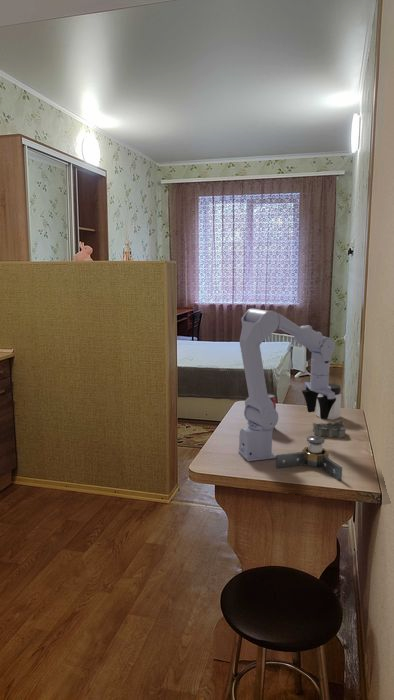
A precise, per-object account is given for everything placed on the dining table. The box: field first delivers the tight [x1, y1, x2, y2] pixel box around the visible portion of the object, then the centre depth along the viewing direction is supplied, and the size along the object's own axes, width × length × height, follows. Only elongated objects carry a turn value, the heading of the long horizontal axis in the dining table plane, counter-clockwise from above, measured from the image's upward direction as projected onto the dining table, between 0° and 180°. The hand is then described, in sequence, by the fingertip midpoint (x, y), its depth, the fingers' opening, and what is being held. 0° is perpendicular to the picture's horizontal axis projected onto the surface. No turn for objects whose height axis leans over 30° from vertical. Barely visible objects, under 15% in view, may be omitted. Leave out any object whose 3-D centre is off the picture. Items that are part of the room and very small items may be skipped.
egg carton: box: [312, 420, 347, 438], centre depth 171 cm, size 11×8×4 cm
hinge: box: [275, 446, 343, 481], centre depth 140 cm, size 16×16×4 cm
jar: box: [315, 382, 342, 421], centre depth 189 cm, size 9×8×12 cm
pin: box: [306, 435, 326, 455], centre depth 146 cm, size 5×5×7 cm
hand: (317, 415), depth 160 cm, fingers open, 7 cm apart
